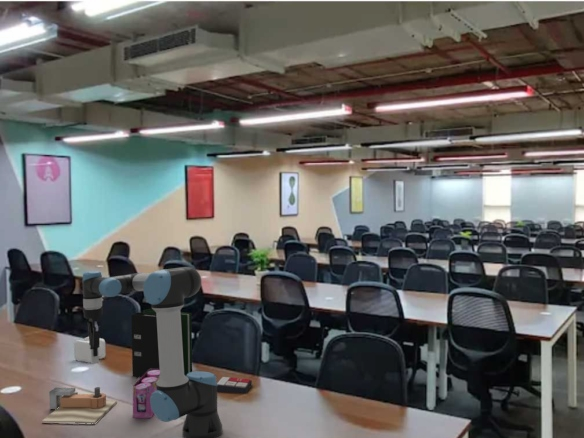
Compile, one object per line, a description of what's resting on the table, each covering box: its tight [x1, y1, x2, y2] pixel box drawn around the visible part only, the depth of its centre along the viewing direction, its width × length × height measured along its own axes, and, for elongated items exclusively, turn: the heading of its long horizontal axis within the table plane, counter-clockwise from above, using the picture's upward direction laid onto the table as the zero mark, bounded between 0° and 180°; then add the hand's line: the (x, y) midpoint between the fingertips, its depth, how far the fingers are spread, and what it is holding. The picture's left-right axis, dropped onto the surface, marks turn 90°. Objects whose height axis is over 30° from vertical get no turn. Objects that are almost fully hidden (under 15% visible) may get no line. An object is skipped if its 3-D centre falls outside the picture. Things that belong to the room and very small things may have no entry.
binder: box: [130, 308, 193, 379], centre depth 266 cm, size 27×15×32 cm, turn 67°
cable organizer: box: [73, 336, 106, 364], centre depth 295 cm, size 15×11×12 cm
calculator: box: [217, 376, 253, 394], centre depth 248 cm, size 11×4×15 cm
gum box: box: [132, 369, 160, 419], centre depth 225 cm, size 24×8×14 cm, turn 177°
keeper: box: [48, 387, 78, 410], centre depth 227 cm, size 7×9×8 cm
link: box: [60, 392, 107, 408], centre depth 225 cm, size 18×7×4 cm, turn 90°
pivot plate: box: [41, 386, 118, 425], centre depth 220 cm, size 22×22×9 cm
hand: (94, 363), depth 220 cm, fingers closed
